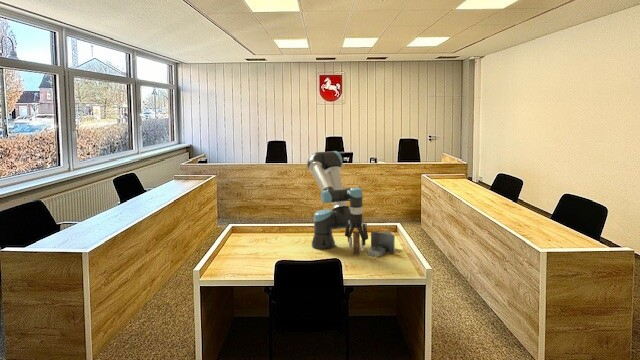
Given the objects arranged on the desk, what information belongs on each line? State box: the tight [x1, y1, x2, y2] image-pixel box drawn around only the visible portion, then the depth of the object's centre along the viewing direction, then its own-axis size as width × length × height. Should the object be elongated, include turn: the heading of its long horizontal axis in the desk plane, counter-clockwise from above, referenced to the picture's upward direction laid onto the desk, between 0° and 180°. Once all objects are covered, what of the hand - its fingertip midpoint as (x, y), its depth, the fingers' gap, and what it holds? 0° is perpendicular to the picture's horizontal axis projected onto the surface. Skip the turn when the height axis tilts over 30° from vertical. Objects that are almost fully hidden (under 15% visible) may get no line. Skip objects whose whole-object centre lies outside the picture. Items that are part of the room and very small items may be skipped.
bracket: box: [367, 230, 396, 258], centre depth 328 cm, size 16×12×12 cm
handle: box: [352, 230, 361, 256], centre depth 328 cm, size 4×4×14 cm
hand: (356, 248), depth 328 cm, fingers open, 8 cm apart
